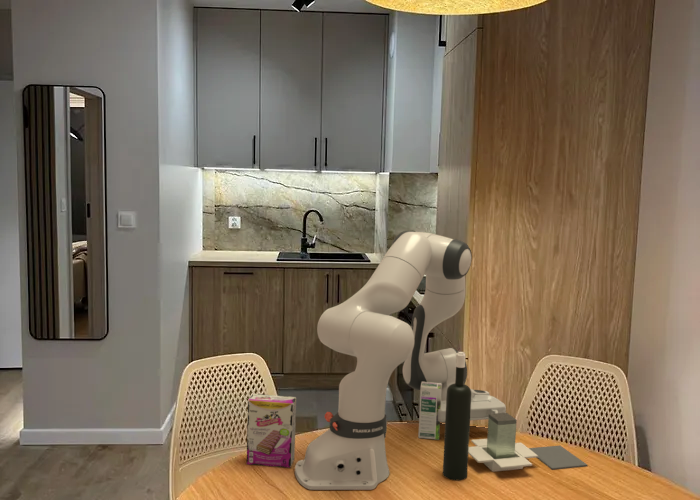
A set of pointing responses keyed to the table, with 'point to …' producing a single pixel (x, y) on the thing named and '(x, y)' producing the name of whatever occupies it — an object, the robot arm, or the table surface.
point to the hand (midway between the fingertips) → (481, 420)
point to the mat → (557, 457)
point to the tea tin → (501, 436)
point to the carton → (506, 463)
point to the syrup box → (429, 410)
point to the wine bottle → (457, 425)
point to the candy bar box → (271, 430)
